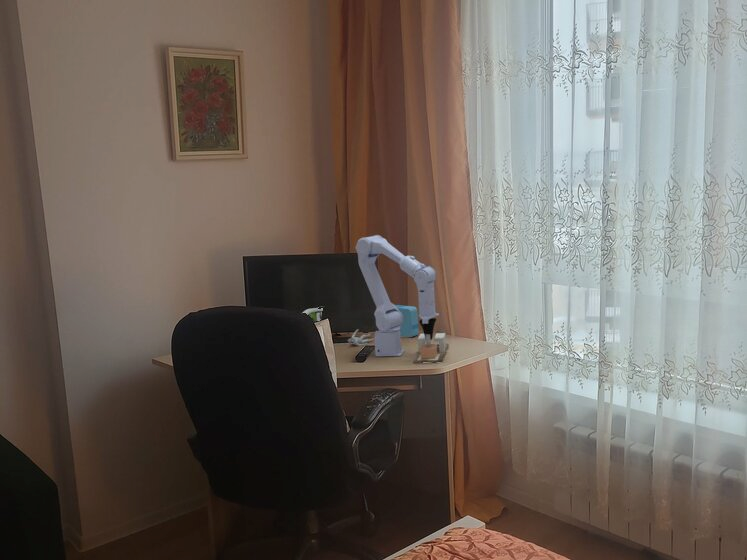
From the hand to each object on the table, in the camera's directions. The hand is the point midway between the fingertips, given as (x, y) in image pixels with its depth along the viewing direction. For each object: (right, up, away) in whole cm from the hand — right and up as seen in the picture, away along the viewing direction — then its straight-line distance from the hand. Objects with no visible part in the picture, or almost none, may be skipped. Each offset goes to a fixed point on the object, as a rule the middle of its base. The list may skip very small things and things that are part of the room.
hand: (429, 339), depth 268 cm
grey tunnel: (+2, -5, +9) cm, 10 cm away
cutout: (-39, -3, +44) cm, 59 cm away
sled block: (0, -6, -1) cm, 6 cm away
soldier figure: (-25, -4, +30) cm, 39 cm away
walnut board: (+1, -6, +6) cm, 8 cm away
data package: (-7, -2, +40) cm, 41 cm away
